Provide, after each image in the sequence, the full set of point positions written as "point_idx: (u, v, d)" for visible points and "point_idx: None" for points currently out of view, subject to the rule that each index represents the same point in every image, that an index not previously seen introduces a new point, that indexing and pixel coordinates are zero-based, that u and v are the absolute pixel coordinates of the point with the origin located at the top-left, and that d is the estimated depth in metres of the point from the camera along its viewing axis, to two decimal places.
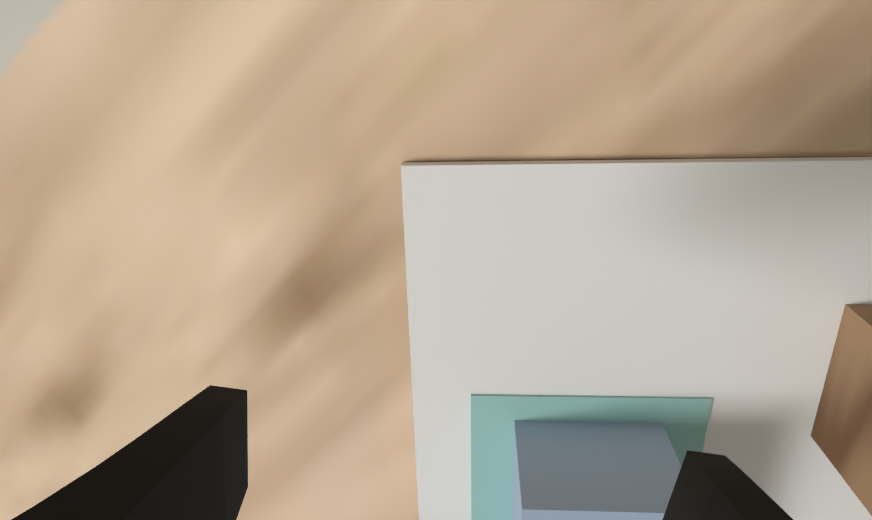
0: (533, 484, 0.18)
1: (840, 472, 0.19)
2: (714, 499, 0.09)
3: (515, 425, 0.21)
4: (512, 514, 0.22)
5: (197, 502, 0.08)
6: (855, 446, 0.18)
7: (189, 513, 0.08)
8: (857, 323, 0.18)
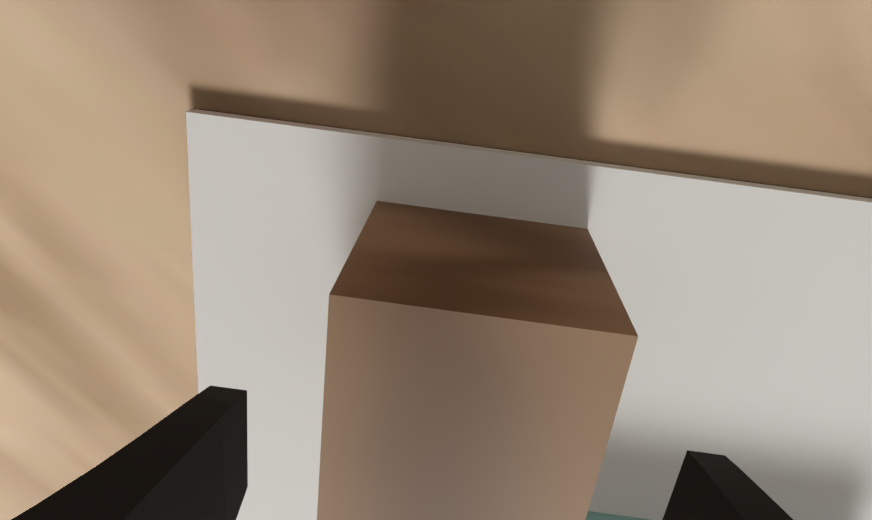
0: None
1: None
2: (714, 499, 0.09)
3: None
4: None
5: (197, 502, 0.08)
6: None
7: (189, 513, 0.08)
8: None
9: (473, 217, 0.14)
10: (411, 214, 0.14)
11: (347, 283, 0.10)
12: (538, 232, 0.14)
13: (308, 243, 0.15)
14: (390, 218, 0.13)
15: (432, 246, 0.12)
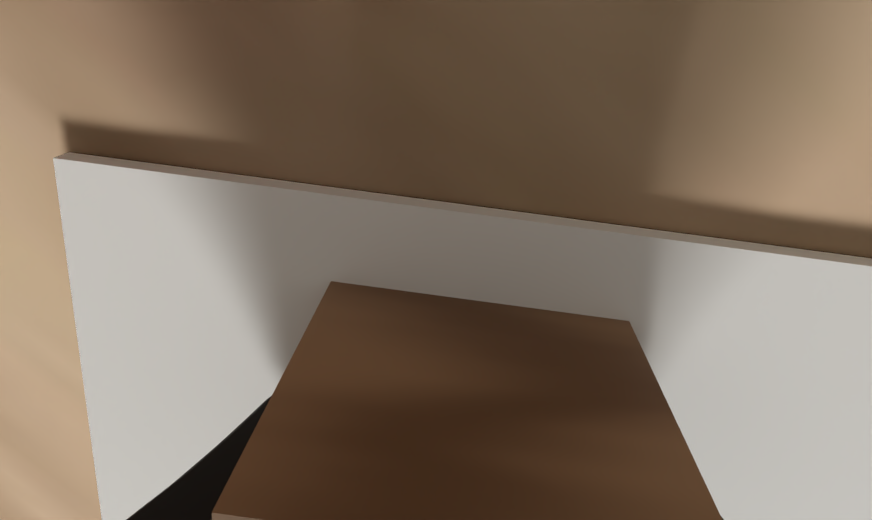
0: None
1: None
2: None
3: None
4: None
5: None
6: None
7: None
8: None
9: (467, 307, 0.10)
10: (378, 305, 0.10)
11: (251, 478, 0.06)
12: (561, 332, 0.10)
13: (238, 336, 0.11)
14: (346, 315, 0.09)
15: (405, 373, 0.08)
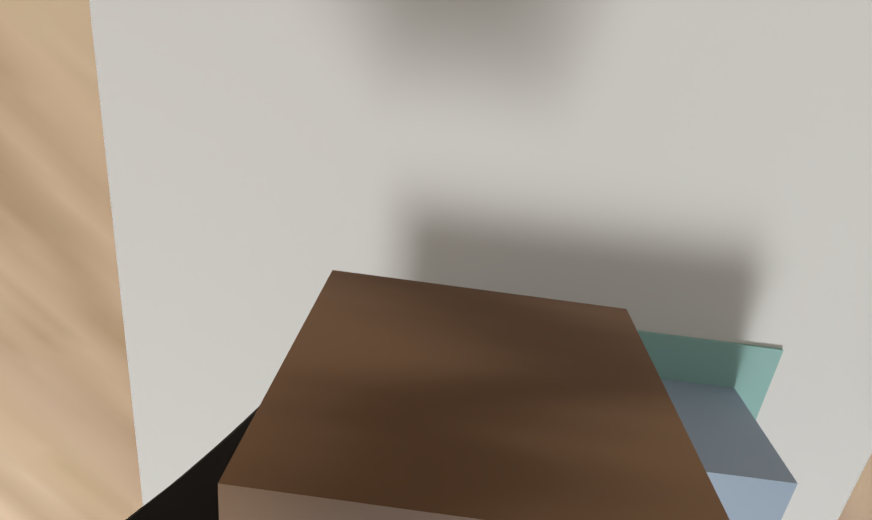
0: None
1: None
2: None
3: None
4: None
5: None
6: None
7: None
8: None
9: (467, 295, 0.10)
10: (380, 293, 0.10)
11: (255, 452, 0.06)
12: (559, 319, 0.10)
13: (204, 21, 0.15)
14: (348, 301, 0.09)
15: (405, 356, 0.08)
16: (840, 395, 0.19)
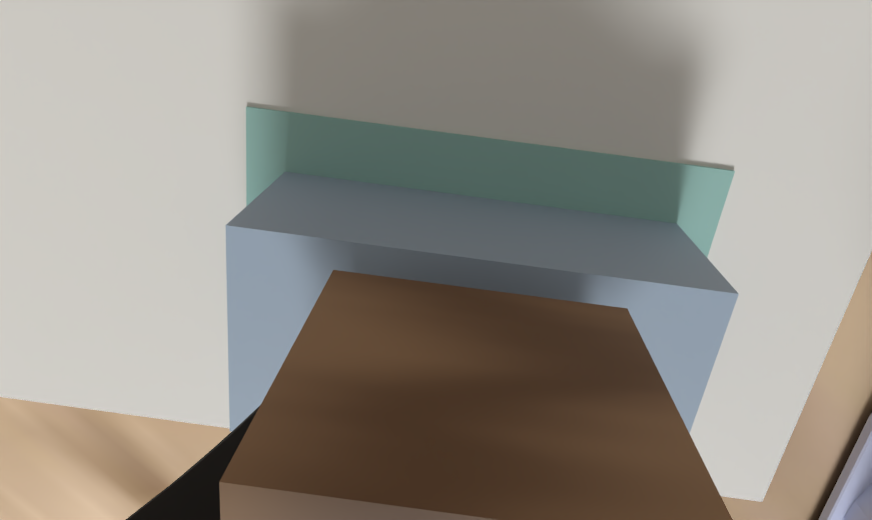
0: None
1: None
2: None
3: None
4: None
5: None
6: None
7: None
8: None
9: (467, 294, 0.10)
10: (380, 292, 0.10)
11: (257, 450, 0.06)
12: (560, 318, 0.10)
13: None
14: (349, 301, 0.09)
15: (406, 356, 0.08)
16: (806, 233, 0.15)
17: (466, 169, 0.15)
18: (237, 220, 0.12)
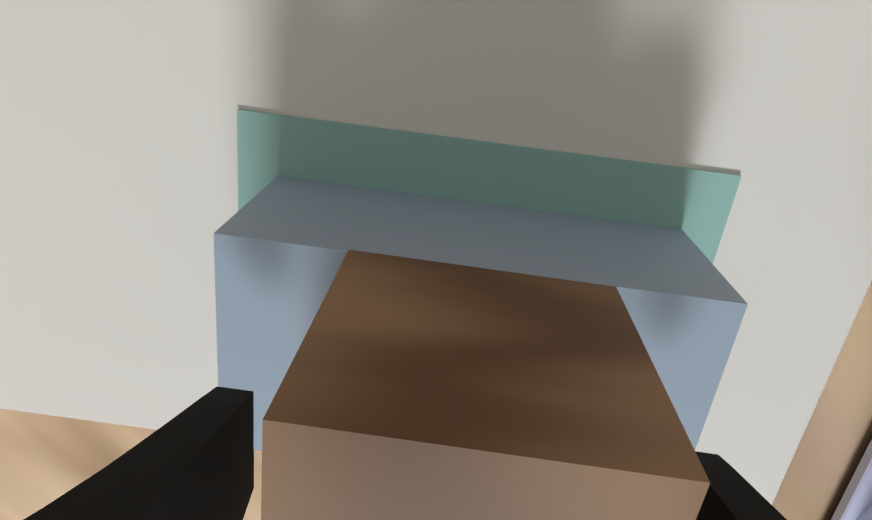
0: None
1: None
2: (706, 498, 0.09)
3: None
4: None
5: (204, 503, 0.08)
6: None
7: (197, 513, 0.08)
8: None
9: (471, 272, 0.11)
10: (392, 269, 0.11)
11: (292, 396, 0.07)
12: (555, 294, 0.11)
13: None
14: (365, 277, 0.10)
15: (417, 323, 0.09)
16: (814, 239, 0.15)
17: (465, 174, 0.15)
18: (226, 228, 0.12)
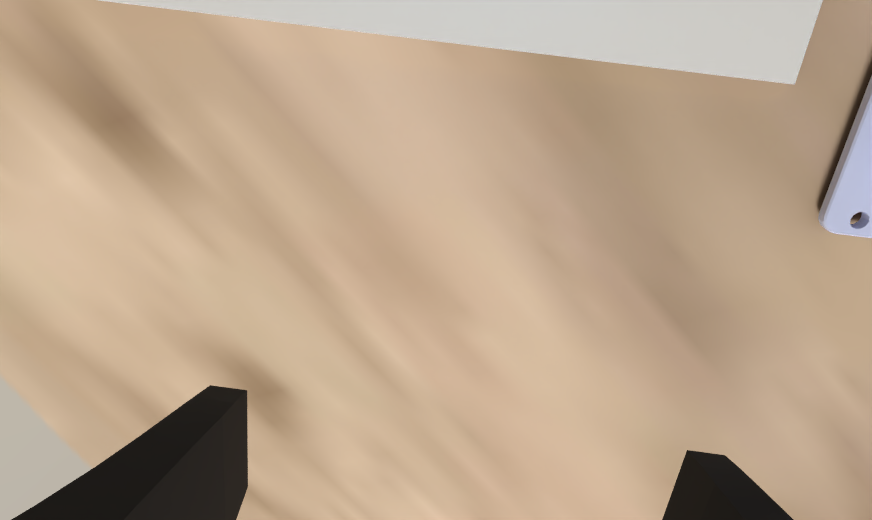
0: None
1: None
2: (714, 499, 0.09)
3: None
4: None
5: (197, 502, 0.08)
6: None
7: (189, 513, 0.08)
8: None
9: None
10: None
11: None
12: None
13: None
14: None
15: None
16: None
17: None
18: None
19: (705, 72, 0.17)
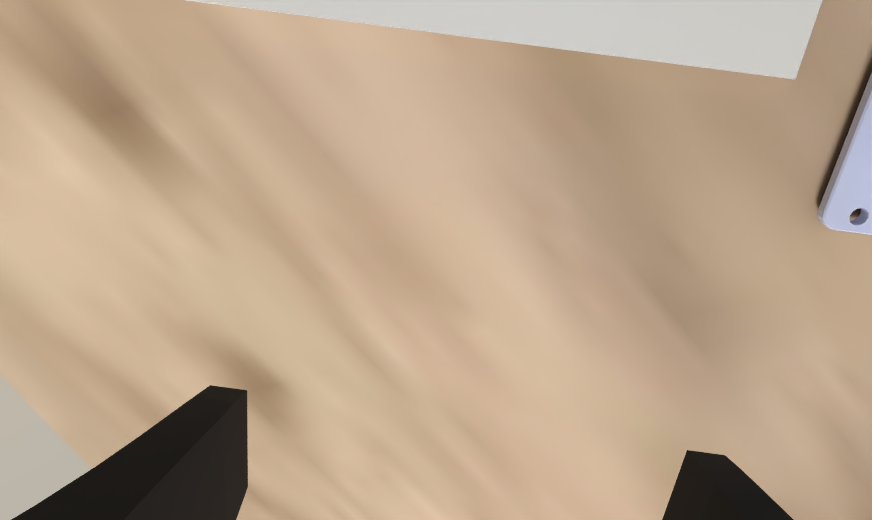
0: None
1: None
2: (714, 499, 0.09)
3: None
4: None
5: (197, 502, 0.08)
6: None
7: (189, 513, 0.08)
8: None
9: None
10: None
11: None
12: None
13: None
14: None
15: None
16: None
17: None
18: None
19: (706, 66, 0.17)
